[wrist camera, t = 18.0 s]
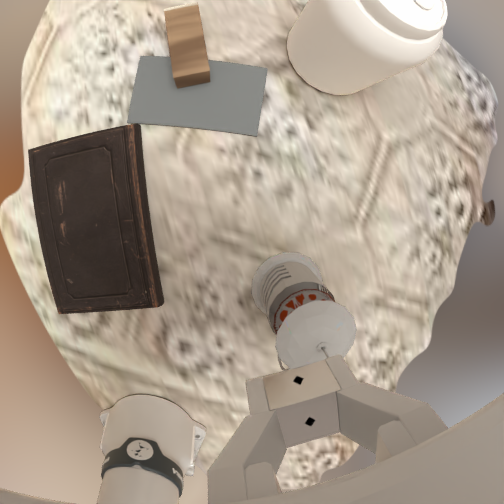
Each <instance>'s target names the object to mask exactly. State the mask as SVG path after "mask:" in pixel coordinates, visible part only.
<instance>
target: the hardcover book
mask: <svg viewBox="0 0 504 504" xmlns="http://www.w3.org/2000/svg"><path fill="white" fill-rule="evenodd" d="M28 153H29V166H30V177H31V186H32V194H33V202H34V209H35V215H36V221H37V227H38V233H39V238H40V243H41V248H42V253H43V257H44V262H45V266H46V270H47V274H48V278H49V282H50V286H51V289H52V293H53V297H54V300H55V304H56V307H57V310H58V313H59V314H68V313H86V312H102V311H116V310H129V309H142V308H154V307H160V306H162V305H163V303H164V298H163V293H162V288H161V283H160V277H159V271H158V266H157V260H156V254H155V247H154V241H153V234H152V228H151V221H150V213H149V206H148V198H147V189H146V180H145V171H144V161H143V150H142V138H141V126H140V125H139V124H131V125H125V126H120V127H115V128H110V129H106V130H101V131H97V132H92V133H88V134H84V135H80V136H76V137H72V138H68V139H64V140H60V141H57V142H53V143H50V144H46V145H43V146H39V147H36V148H33V149H30V150H28Z"/></svg>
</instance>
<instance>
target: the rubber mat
mask: <svg viewBox="0 0 504 504" xmlns="http://www.w3.org/2000/svg"><path fill="white" fill-rule="evenodd" d="M208 63H209V68H210V82H208V83H203V84H197V85H192V86H187V87H182V88H178V89H177V86H176V84H175V81H174V78H173V72H172V65H171V58H170V57H160V56H141V57H140V61H139V65H138V70H137V74H136V79H135V83H134V88H133V93H132V99H131V104H130V109H129V115H128V121H127V123H136V124H152V125H166V126H177V127H188V128H197V129H206V130H214V131H222V132H230V133H237V134H244V135H250V136H257V133H258V126H259V120H260V113H261V107H262V101H263V94H264V88H265V82H266V76H267V70H268V69H267V68H262V67H256V66H250V65H244V64H237V63H230V62H222V61H213V60H208Z"/></svg>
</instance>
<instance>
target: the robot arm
mask: <svg viewBox="0 0 504 504" xmlns="http://www.w3.org/2000/svg"><path fill="white" fill-rule="evenodd" d="M246 390H247V396H248V403H249V409H250V416H246V417H245V418H244V420H243V421H242V423H241V424H240V426H239V427H238V429H237V430H236V432H235V433H234V435H233V436H232V437H231V439H230V440H229V442H228V443H227V445H226V446H225V447H224V449H223V450H222V452H221V453H220V454H219V456H218V457H217V459H216V460H215V461H214V463H213V464H212V465H211V467H210V468H209V470H208V504H504V393H503V394H502V395H500V396H499V397H497V398H496V399H495V400H493V401H492V402H490V403H489V404H487V405H486V406H484V407H483V408H481V409H480V410H478V411H477V412H475V413H474V414H472V415H470V416H469V417H467V418H466V419H464V420H462V421H461V422H459V423H457V424H456V425H454V426H452V427H450V428H449V429H448V427H447V426H446V425H445V424H444V423H443V421H442V420H441V419H440V418H439V416H438V415H437V414H436V412H435V411H434V410H433V409H432V408H431V406H430V405H429V404H428V403H425V402H421V401H419V400H415V399H412V398H409V397H406V396H403V395H400V394H397V393H394V392H391V391H388V390H385V389H382V388H379V387H376V386H374V385H371V384H368V383H365V382H363V383H360V384H359V382H358V380H357V379H356V377H355V376H354V374H353V373H352V371H351V370H350V368H349V366H348V365H347V363H346V362H345V360H344V359H343V357H342V356H341V355H340V354H337V355H334V356H331V357H328V358H325V359H324V360H321V361H318V362H314V363H311V364H308V365H304V366H301V367H298V368H294V369H290V370H286V371H282V372H278V373H273V374H269V375H265V376H262V377H257V378H253V379H248V380H246ZM100 420H101V423H102V425H103V427H104V430H103V434H102V439H101V443H100V449H101V450H102V452H103V454H104V455H105V460H104V462H103V465H102V473H101V476H102V484H101V488H100V492H99V496H98V500H97V504H179V497H180V496H181V494H182V490H183V478H184V476H185V475H187V476H193V474H194V467H195V466H194V465H195V461H194V460H195V458H196V456H197V453H198V451H199V449H200V446H201V444H202V442H203V439H204V437H205V435H206V428H205V427H204V426H203V425H201V424H199V423H197V422H195V421H194V420H192V419H191V418H190V417H189V415H188V414H187V413H186V412H185V411H184V410H183V409H181V408H180V407H179V406H177V405H176V404H174V403H172V402H170V401H168V400H166V399H163V398H160V397H156V396H151V395H132V396H128V397H125V398H123V399H121V400H119V401H118V402H117V403H116V404H115V405H114V406H113V407H112V408H110V409H107V410H104V411H102V412H101V413H100ZM339 432H341V434H343V435H344V436H346V437H348V438H349V439H351V440H353V441H354V442H356V443H358V444H359V445H361V446H363V447H365V448H366V449H368V450H370V451H371V452H373V453H375V454H376V460H375V464H374V465H371V466H369V467H366V468H364V469H361V470H358V471H356V472H353V473H350V474H347V475H345V476H341V477H338V478H335V479H332V480H329V481H326V482H322V483H319V484H315V485H312V486H308V487H305V488H301V489H297V490H293V491H289V492H285V493H282V491H281V488H280V485H279V483H278V480H277V478H276V474H277V471H278V469H279V467H280V464H281V462H282V460H283V457H284V455H285V452H286V450H287V448H288V447H292V446H295V445H298V444H302V443H305V442H308V441H311V440H315V439H318V438H322V437H325V436H329V435H332V434H335V433H339ZM0 504H74V503H67V502H61V501H55V500H49V499H44V498H39V497H34V496H30V495H25V494H21V493H17V492H13V491H10V490H6V489H2V488H0Z"/></svg>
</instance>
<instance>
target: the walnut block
mask: <svg viewBox="0 0 504 504" xmlns="http://www.w3.org/2000/svg"><path fill="white" fill-rule="evenodd" d="M164 13H165V21H166V29H167V36H168V44H169V51H170V58H171V65H172V72H173V78H174V81H175V84H176V86H177V89H178V88H182V87H187V86H192V85H197V84H203V83H208V82H210V68H209V63H208V57H207V52H206V46H205V41H204V35H203V29H202V24H201V18H200V12H199V7H198V3H192V4H186V5H181V6H176V7H171V8H166V9H164Z"/></svg>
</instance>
